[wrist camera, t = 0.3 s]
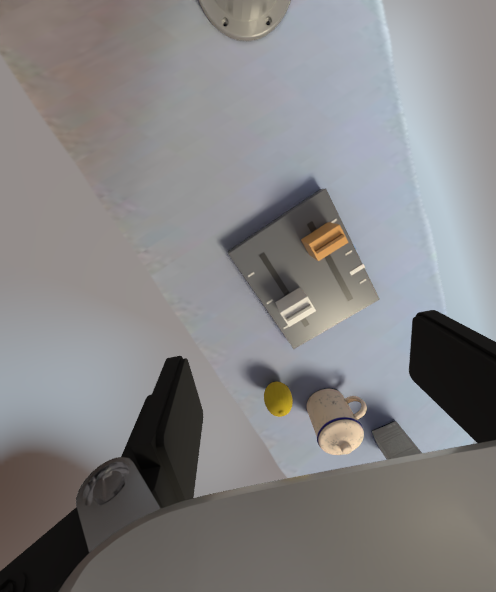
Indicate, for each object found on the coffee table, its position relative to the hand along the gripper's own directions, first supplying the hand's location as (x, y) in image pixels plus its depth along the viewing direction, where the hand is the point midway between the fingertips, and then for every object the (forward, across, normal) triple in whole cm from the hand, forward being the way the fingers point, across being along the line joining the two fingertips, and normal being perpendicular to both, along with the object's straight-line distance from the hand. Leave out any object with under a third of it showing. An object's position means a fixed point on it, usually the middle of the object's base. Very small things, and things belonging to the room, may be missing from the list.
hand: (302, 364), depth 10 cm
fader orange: (+32, -11, +1) cm, 34 cm away
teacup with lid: (+36, -12, +38) cm, 53 cm away
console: (+35, -9, +8) cm, 37 cm away
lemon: (+36, -1, +31) cm, 47 cm away
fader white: (+32, -6, +11) cm, 35 cm away
